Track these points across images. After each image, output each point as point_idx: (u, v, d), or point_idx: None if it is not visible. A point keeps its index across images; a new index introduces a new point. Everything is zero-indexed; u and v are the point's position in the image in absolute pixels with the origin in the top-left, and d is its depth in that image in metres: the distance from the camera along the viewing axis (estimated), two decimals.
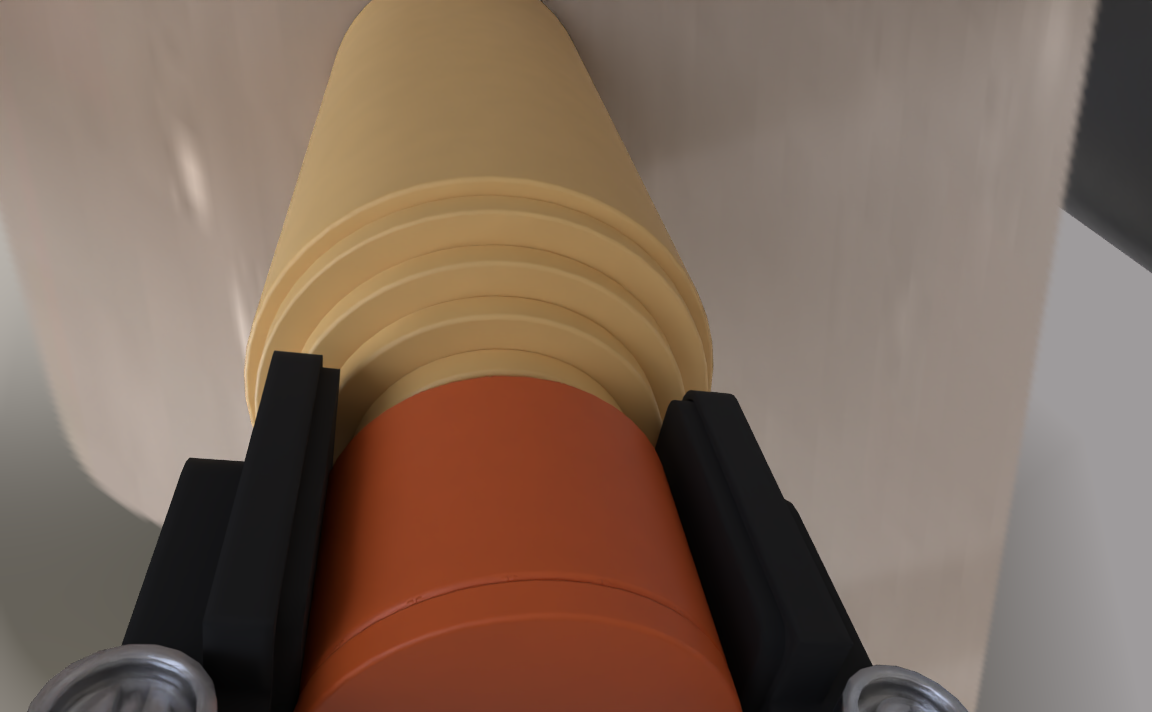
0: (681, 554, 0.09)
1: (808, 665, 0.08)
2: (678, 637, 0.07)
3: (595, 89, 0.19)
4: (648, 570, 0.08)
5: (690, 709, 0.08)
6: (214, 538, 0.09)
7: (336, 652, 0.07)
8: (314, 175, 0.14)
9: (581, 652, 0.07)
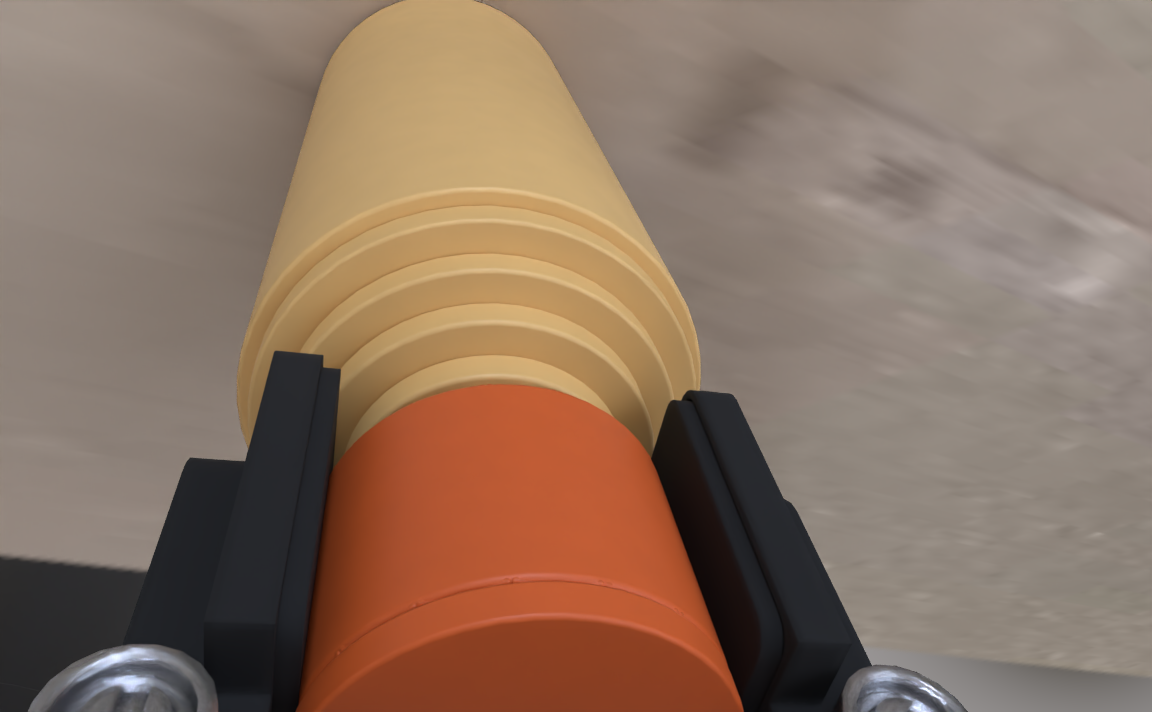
0: (680, 558, 0.09)
1: (807, 665, 0.08)
2: (680, 637, 0.07)
3: None
4: (648, 572, 0.08)
5: (692, 711, 0.08)
6: (215, 538, 0.09)
7: (337, 659, 0.07)
8: None
9: (583, 652, 0.07)
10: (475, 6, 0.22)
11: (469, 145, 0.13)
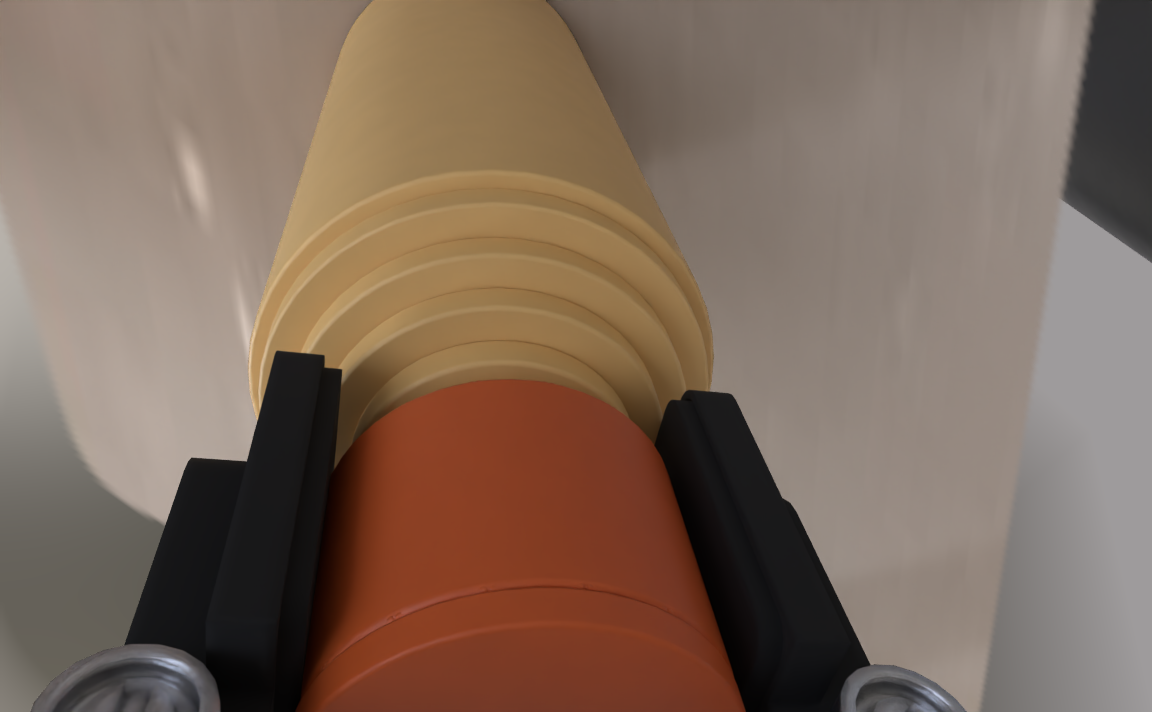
0: None
1: (806, 665, 0.08)
2: None
3: (596, 84, 0.19)
4: None
5: None
6: (216, 539, 0.09)
7: None
8: (316, 171, 0.14)
9: None
10: None
11: None
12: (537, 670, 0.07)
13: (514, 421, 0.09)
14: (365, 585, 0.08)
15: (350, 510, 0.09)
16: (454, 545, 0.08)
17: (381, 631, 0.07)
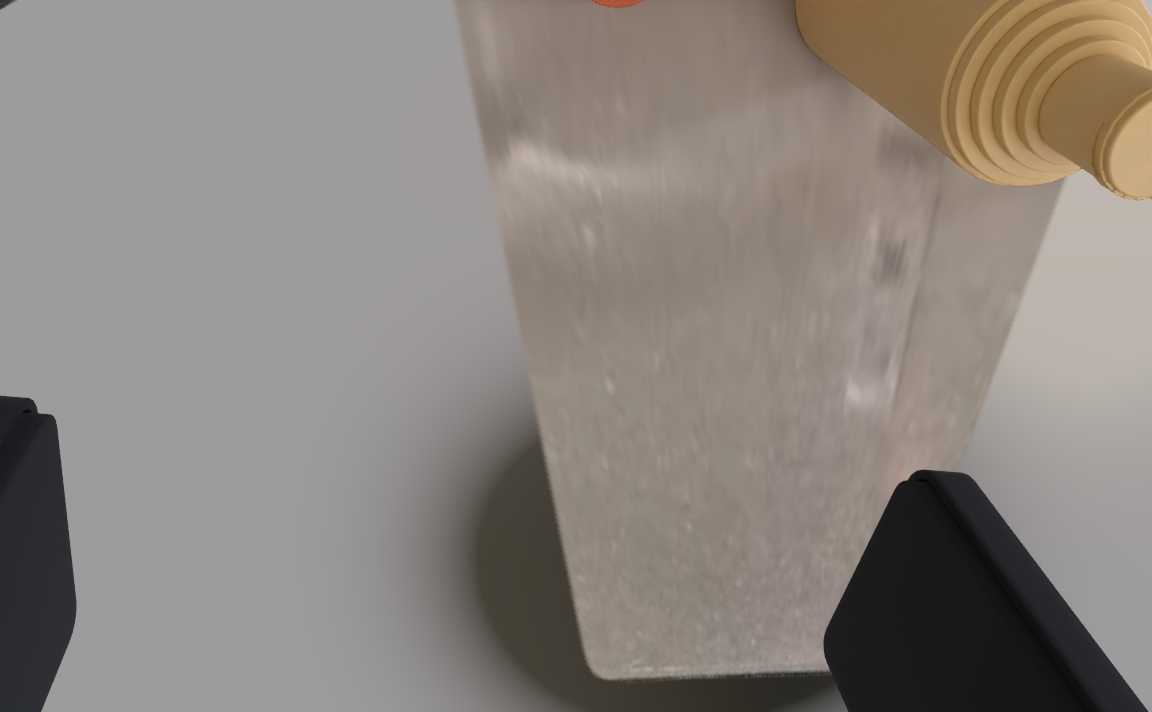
0: None
1: None
2: None
3: (843, 66, 0.35)
4: None
5: None
6: None
7: None
8: None
9: None
10: None
11: None
12: None
13: None
14: None
15: None
16: None
17: None
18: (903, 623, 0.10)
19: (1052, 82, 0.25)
